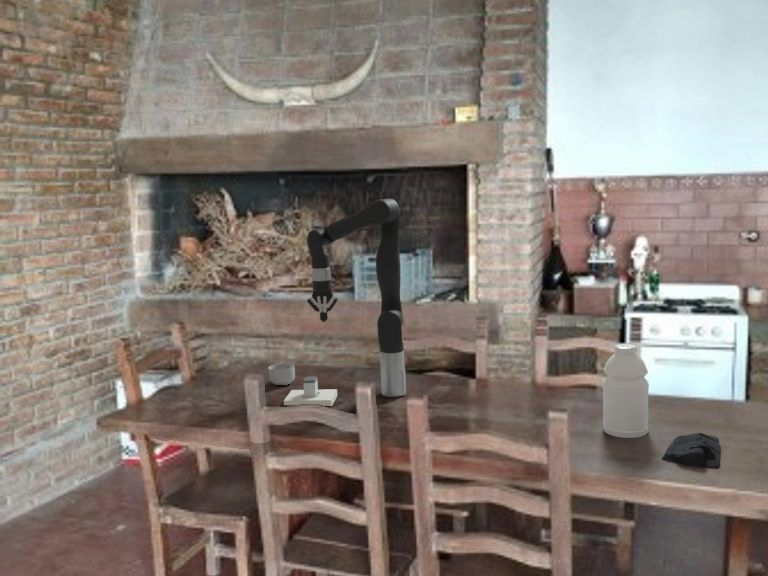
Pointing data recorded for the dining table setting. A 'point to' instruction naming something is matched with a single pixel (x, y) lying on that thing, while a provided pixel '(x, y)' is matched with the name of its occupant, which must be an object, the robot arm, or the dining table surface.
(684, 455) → the dark slate chunk
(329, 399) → the socket plate
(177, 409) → the dining table surface
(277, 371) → the teacup
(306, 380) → the plug
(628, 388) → the bottle
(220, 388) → the dining table surface
